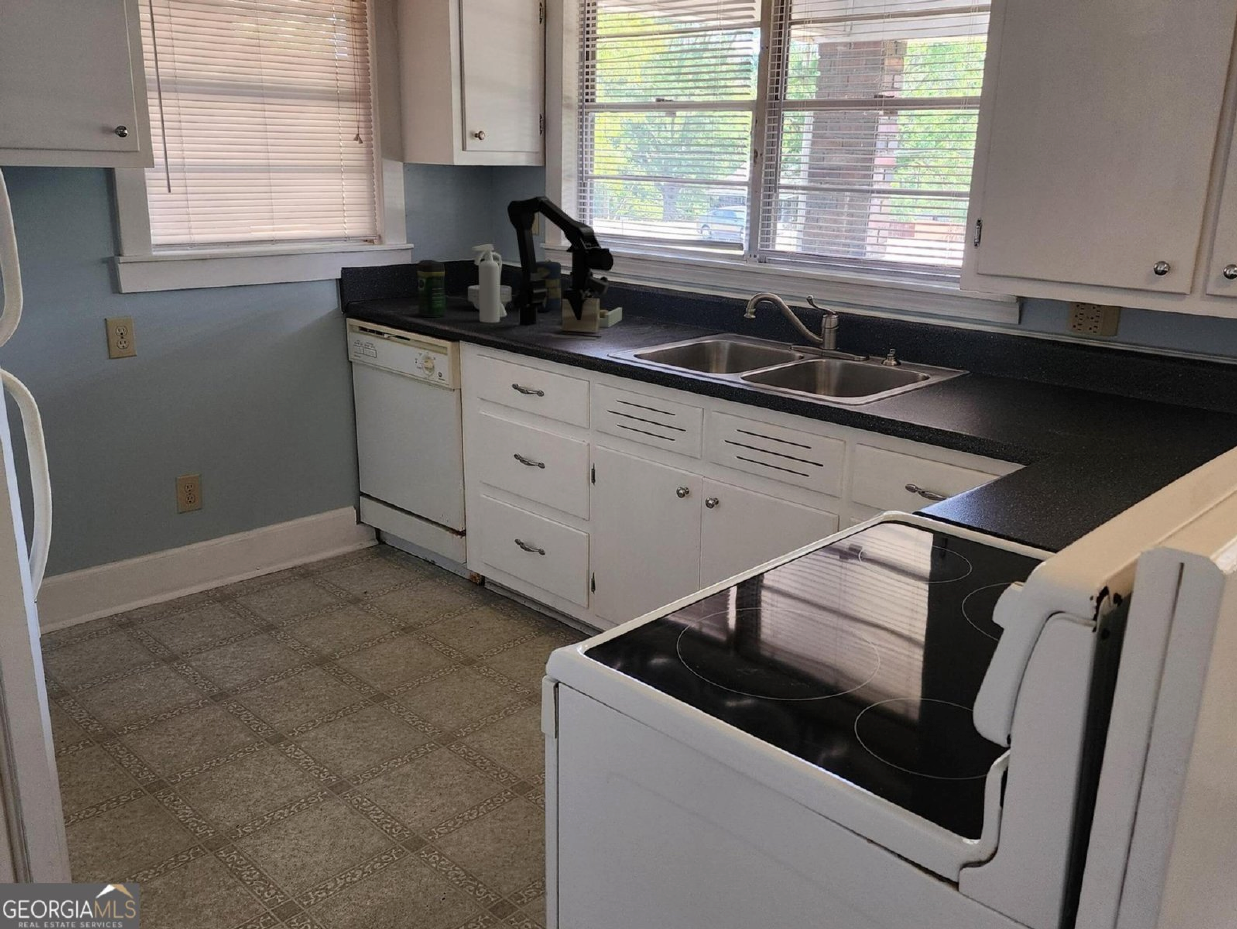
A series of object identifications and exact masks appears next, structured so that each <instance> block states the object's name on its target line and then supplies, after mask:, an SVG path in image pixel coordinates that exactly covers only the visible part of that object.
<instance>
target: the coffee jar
mask: <svg viewBox="0 0 1237 929" xmlns="http://www.w3.org/2000/svg"><path fill="white" fill-rule="evenodd" d="M416 270H417V271H416V272H417V279H418V280H417V281H418V282H417V283H418V304H417V306H418V308H417V309H418V315H420V316H422V317H426V318H430V317H431V318H432V317H433V318H440V317H444V316H446V315H447V312H446V311H447V310H446V308H447V307H446V294H445V275H446V271H445V270H446V269H445V264H444V263H443V262H442V261H437V260H434V259H421V260H419V261H418V263H417V268H416Z"/></svg>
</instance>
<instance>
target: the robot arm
mask: <svg viewBox="0 0 1237 929" xmlns="http://www.w3.org/2000/svg"><path fill="white" fill-rule="evenodd" d="M506 210H507V215H508V218H509V222H510V224H511V225H512V226H513V228H514V229H515V233H516V239H517V240H516V241H517V246H518V247H517V248H518V254H519V262H520V268H521V279H520V282H519V286H518V290H519V291H518V294H517V296H516V297H515V298H513V300H512V304H513V308H515V309H518V323H517V324H516V325H515V327H517V326H519V325H520V326H535V325H537V324H538V310H537V307H542V305H543V301H544V299H545V298H546V292H547V289H546V281H545V279H541V278H540V277H539V275H538V271H537V264H536V262H537V259H536V250H535V243H534V237H533V236H534V235H533V225H534V222H535V220H536V214H537V213H540V214H542V215H543V216H544V217H545V218H547V219H548V221H550V222H552V224H554V225H555V226H556V227H557V228H558V229H560V230H561V231H562V232H563V234H564V237H565V239H566V240H567V241H568V243H570V244H571V245H570V246H569V247H568V248H567V249H566V250H565V252H566V253H571V271H569V276H571V284H570V285H569V288H567V289H565V290H563V291H562V292H561V300H563V299H567V300H568V301H569V303H570V305H571V307H572V310H573V312H574V314H575V316H576V319H577V320H581V316H582V310H583V304H584V302H585V301H586V300H587V299H588V298H594V297H595V294H599V295H602V296H603V295H605V294H606V293H607V291H608V288H610V282H609V279H608V277H607V276H603V275H602V276H601V277H595V276H594V272H593V270H594V271H602V272H604V271H605V272H610V271H611V270H612V269H613V267H614V264H615V263H614V262H615V261H614V256H613V254H612V253H611V252H610V247H602V246H601V244H600V242H599V241H598V239H597V237H596V235H595V230H594V228H593V227H592V226H590V225H588V224H586V223H584V222H582V221H578V220H576V219H574V218H572V217H571V216H570V215H569V214H567V212H565V211H563V210H562V208H560V207H558V206H557V205H556V204H555V203H553V201H551V200H550V198H549V197H547V195H546V196H544V195H540V196H535V197H532V198H529V199H521V200H520V199H519V200H517V199H515V200H512V201H510V202H509V204H508V205H507V209H506ZM591 293H594V295H593V294H591Z"/></svg>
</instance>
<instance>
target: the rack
mask: <svg viewBox="0 0 1237 929" xmlns="http://www.w3.org/2000/svg"><path fill="white" fill-rule="evenodd" d="M622 320H623V307H617V308H615V309H613V310H611V311H608V310H607V314H605V319H603V318H599V328H610V327H611V326H613V325H615V324H617V323H619V322H620V321H622Z"/></svg>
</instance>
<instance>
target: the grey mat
mask: <svg viewBox="0 0 1237 929" xmlns="http://www.w3.org/2000/svg"><path fill="white" fill-rule="evenodd" d="M551 337H552V338H561V339H562V338H563V339H578V340H589V341H590V340H592V341H597V340H599V339H600V338H602V337H603V335H592V334H591V335H590V334H575V333H559V332H556V333H554V334H552V335H551Z"/></svg>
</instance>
